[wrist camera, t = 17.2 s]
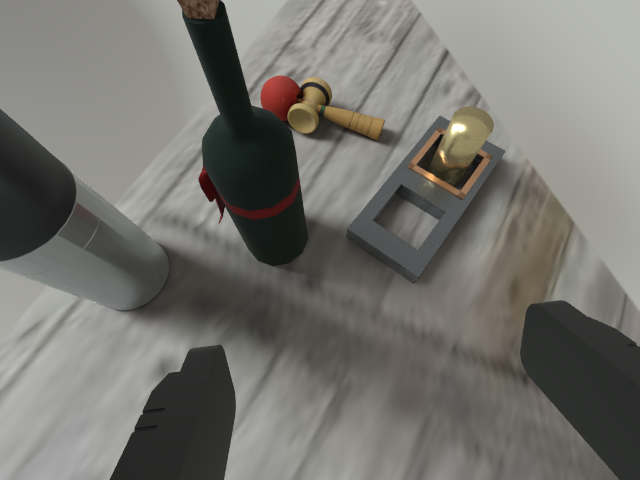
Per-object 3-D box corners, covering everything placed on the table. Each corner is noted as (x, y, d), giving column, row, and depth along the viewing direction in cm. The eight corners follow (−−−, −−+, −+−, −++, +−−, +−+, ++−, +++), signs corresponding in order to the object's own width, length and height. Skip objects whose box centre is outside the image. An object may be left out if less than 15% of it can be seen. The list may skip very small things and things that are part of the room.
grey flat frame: (346, 236, 44) (347, 227, 41) (434, 128, 50) (440, 114, 48) (413, 283, 41) (419, 276, 39) (496, 162, 48) (506, 150, 45)
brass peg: (421, 176, 47) (444, 125, 38) (438, 154, 48) (464, 100, 39) (450, 193, 46) (481, 145, 37) (466, 170, 47) (500, 119, 38)
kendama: (383, 118, 53) (272, 81, 53) (394, 94, 47) (269, 52, 47) (369, 163, 51) (255, 125, 51) (378, 144, 45) (249, 100, 45)
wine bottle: (234, 206, 46) (95, -68, 18) (310, 211, 45) (287, -62, 18) (223, 262, 43) (35, 35, 15) (304, 268, 42) (265, 45, 14)
